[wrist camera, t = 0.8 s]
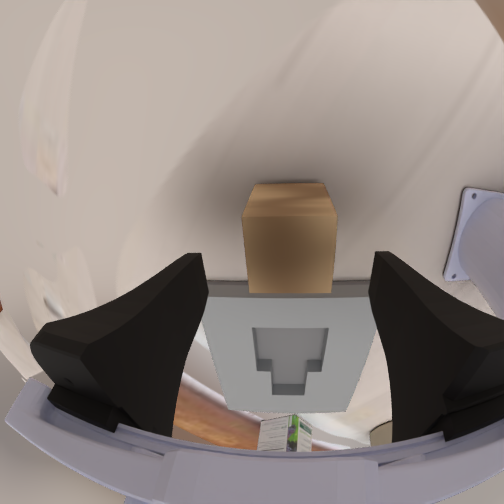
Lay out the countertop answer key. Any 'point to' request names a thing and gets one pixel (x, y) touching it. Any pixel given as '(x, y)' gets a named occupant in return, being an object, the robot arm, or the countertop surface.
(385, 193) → the countertop surface
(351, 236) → the countertop surface
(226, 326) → the keyhole board
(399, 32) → the countertop surface
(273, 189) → the keyhole peg
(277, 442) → the syrup box
